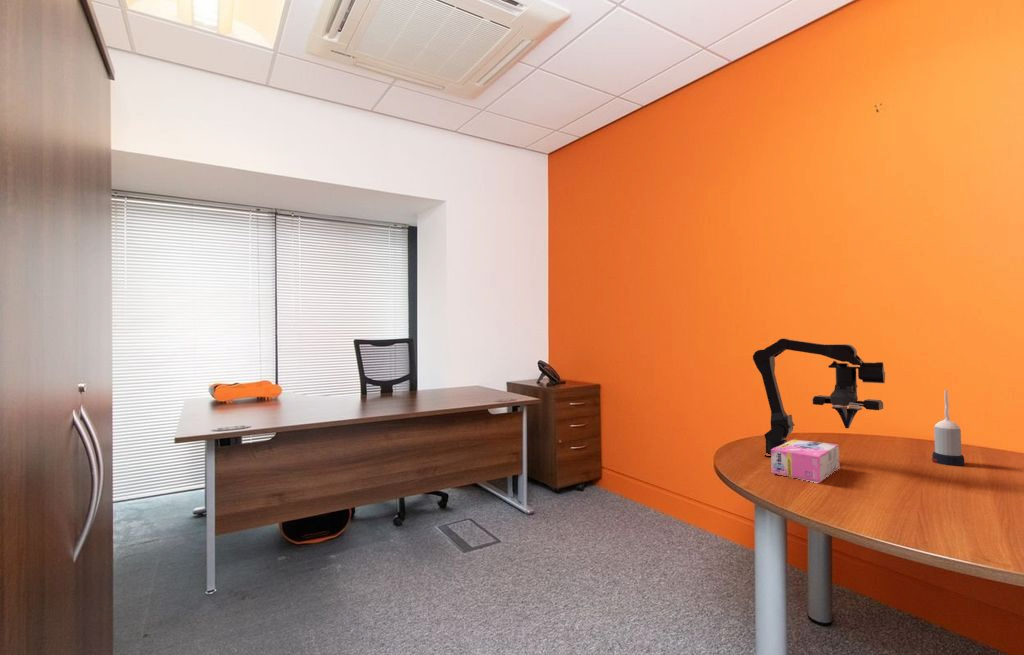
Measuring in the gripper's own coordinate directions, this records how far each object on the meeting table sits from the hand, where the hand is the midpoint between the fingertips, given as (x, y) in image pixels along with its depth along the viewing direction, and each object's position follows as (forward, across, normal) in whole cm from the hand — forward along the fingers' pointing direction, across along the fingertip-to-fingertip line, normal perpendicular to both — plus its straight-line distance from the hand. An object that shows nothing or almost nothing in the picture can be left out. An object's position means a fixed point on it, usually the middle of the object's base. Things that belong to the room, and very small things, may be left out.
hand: (847, 428), depth 157 cm
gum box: (+9, 0, -16) cm, 18 cm away
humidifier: (+13, +20, +33) cm, 41 cm away
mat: (+13, -6, -15) cm, 21 cm away
